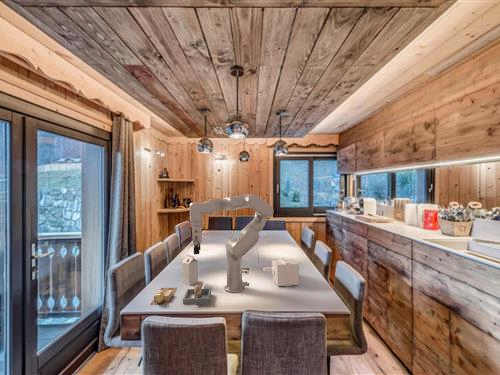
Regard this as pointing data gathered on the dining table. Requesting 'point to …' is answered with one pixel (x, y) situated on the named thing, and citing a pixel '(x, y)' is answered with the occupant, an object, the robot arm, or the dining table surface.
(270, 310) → the dining table surface
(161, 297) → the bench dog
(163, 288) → the board
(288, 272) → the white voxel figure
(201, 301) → the tray
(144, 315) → the dining table surface
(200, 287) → the dowel
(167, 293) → the thick square wood block
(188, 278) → the milk carton
